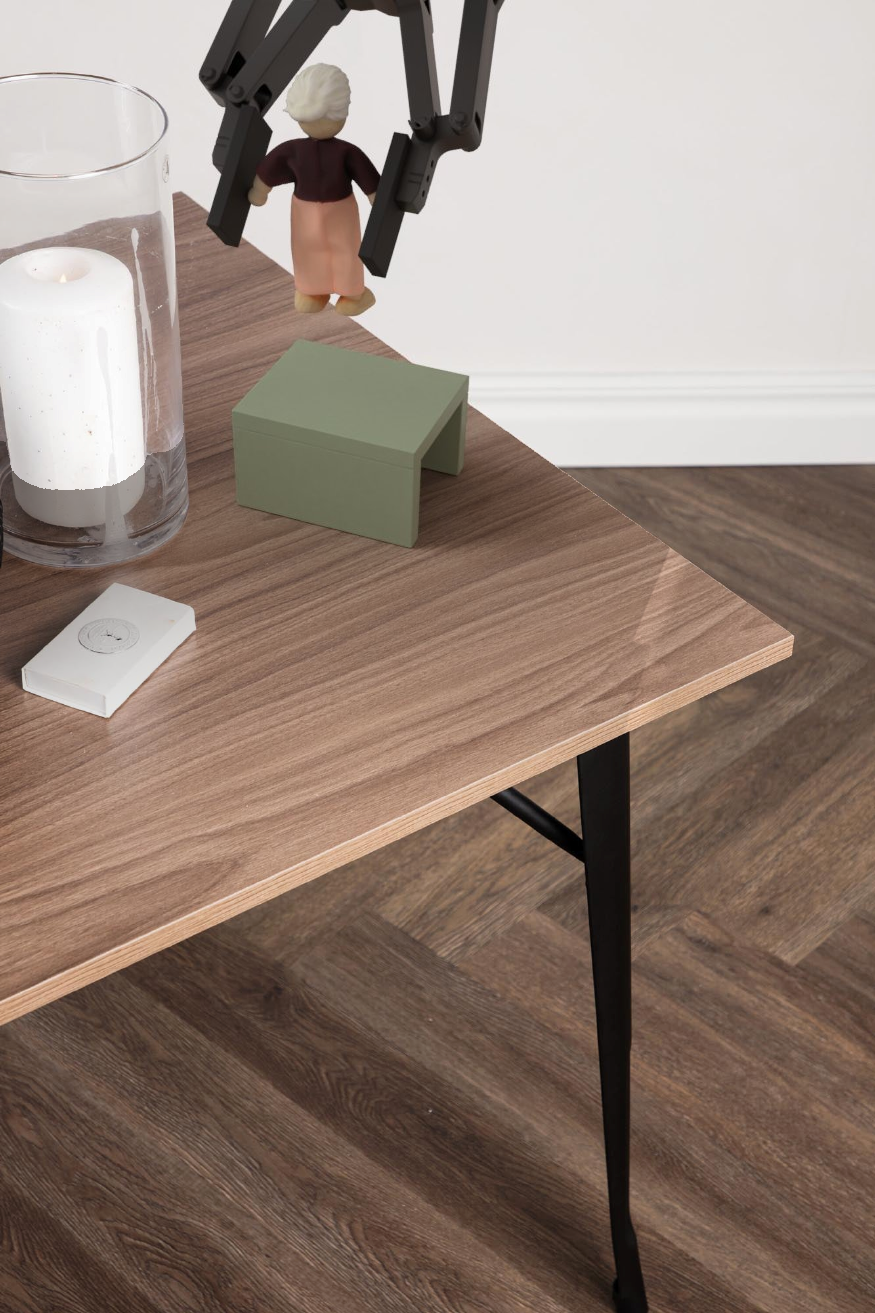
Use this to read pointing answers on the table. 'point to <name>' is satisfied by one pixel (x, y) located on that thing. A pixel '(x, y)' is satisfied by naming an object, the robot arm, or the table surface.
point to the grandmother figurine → (322, 193)
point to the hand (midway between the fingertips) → (296, 250)
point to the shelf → (347, 439)
